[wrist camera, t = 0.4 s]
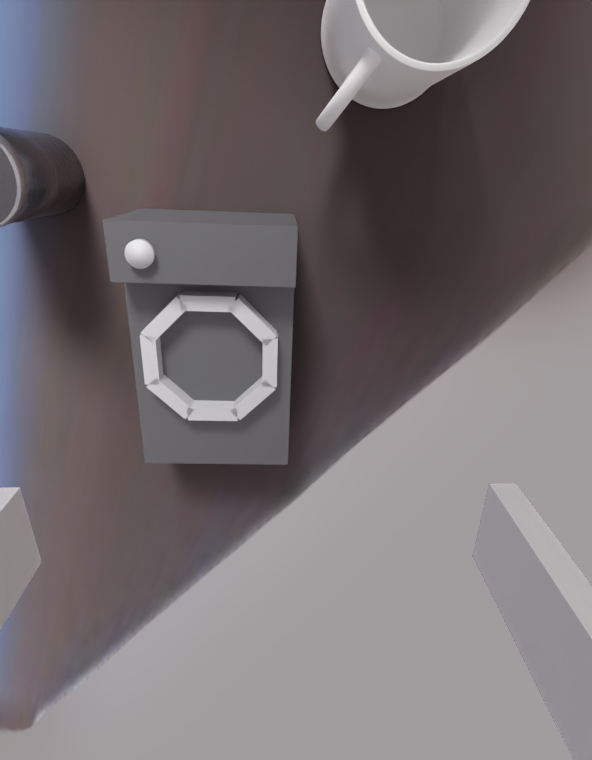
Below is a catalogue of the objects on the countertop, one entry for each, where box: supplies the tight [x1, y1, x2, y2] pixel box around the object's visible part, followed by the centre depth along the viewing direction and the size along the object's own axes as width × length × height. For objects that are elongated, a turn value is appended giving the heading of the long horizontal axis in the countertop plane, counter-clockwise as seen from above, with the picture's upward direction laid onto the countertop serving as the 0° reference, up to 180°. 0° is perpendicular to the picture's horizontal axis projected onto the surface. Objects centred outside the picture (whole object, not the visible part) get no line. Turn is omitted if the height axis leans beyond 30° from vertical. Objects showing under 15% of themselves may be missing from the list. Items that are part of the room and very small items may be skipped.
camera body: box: [103, 208, 298, 465], centre depth 34 cm, size 18×11×9 cm, turn 178°
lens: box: [0, 127, 84, 227], centre depth 28 cm, size 5×5×10 cm
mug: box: [316, 0, 530, 131], centre depth 25 cm, size 12×8×12 cm
